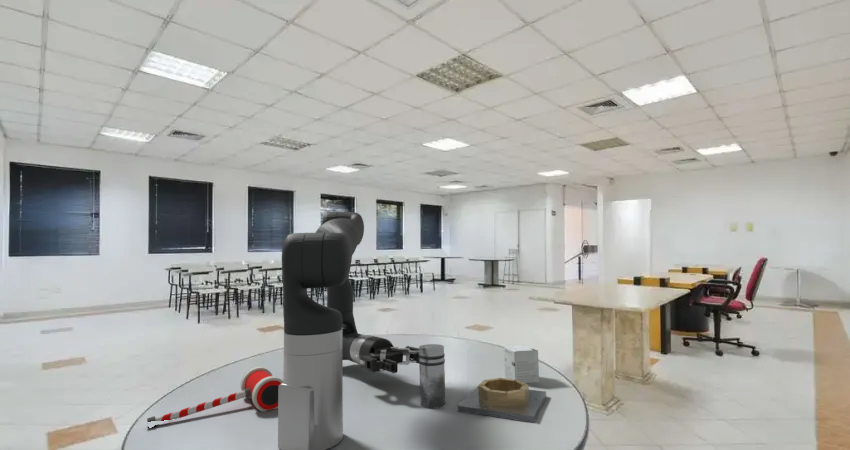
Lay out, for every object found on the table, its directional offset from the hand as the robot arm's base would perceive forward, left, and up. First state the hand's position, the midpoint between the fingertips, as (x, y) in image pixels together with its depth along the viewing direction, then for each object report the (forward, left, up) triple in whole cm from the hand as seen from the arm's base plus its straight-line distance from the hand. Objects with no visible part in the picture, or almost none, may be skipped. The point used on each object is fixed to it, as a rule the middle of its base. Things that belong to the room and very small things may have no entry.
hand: (412, 364), depth 83 cm
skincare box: (+19, -19, -7) cm, 28 cm away
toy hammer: (-20, +30, -7) cm, 37 cm away
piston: (-3, -6, -7) cm, 9 cm away
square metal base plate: (+2, -19, -7) cm, 20 cm away
